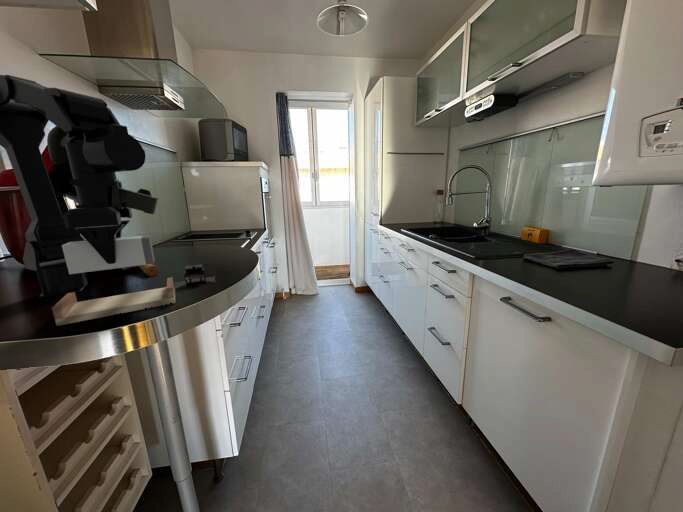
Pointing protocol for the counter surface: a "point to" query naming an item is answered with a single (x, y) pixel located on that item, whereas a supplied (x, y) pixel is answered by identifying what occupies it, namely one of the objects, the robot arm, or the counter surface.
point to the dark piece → (192, 282)
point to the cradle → (111, 304)
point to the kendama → (146, 269)
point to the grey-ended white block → (88, 259)
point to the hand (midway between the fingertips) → (114, 261)
